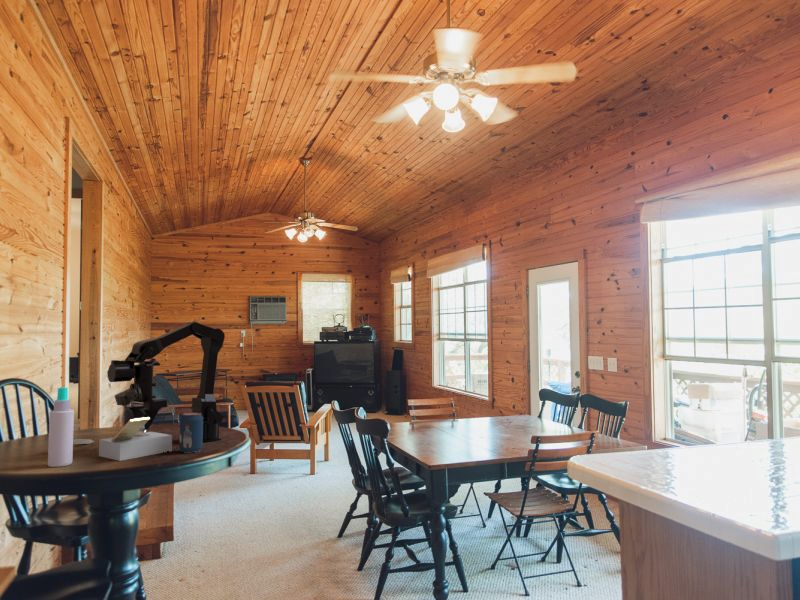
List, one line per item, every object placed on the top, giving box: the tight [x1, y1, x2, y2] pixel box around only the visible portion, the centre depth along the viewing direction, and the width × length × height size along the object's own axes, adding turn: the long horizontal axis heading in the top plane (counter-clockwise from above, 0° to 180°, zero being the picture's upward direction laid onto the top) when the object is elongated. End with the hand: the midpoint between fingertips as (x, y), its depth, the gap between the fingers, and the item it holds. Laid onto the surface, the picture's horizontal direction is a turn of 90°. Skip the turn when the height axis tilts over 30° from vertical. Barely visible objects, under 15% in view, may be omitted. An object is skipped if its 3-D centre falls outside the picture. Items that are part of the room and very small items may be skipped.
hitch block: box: [98, 431, 173, 462], centre depth 174 cm, size 17×12×6 cm
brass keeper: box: [112, 417, 150, 440], centre depth 166 cm, size 6×11×1 cm
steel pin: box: [134, 416, 152, 437], centre depth 178 cm, size 5×5×8 cm
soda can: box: [179, 411, 204, 454], centre depth 177 cm, size 7×7×12 cm
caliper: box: [73, 438, 95, 445], centre depth 183 cm, size 20×1×6 cm, turn 174°
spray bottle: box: [47, 387, 75, 468], centre depth 159 cm, size 6×6×22 cm
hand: (142, 428), depth 178 cm, fingers closed on steel pin, 5 cm apart
